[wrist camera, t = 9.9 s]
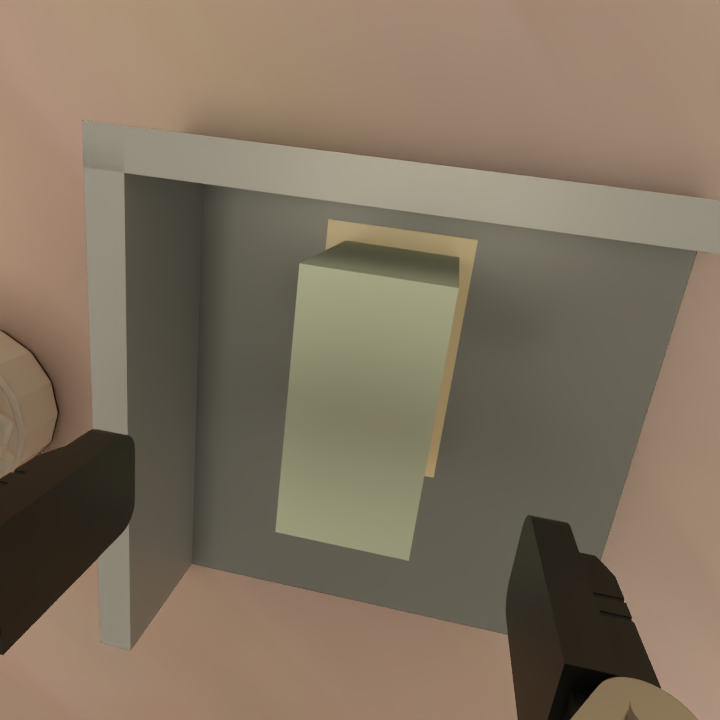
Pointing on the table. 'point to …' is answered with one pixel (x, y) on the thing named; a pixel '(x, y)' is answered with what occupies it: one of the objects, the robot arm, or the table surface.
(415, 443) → the sage block
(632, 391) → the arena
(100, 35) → the table surface
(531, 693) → the robot arm
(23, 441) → the white cup
